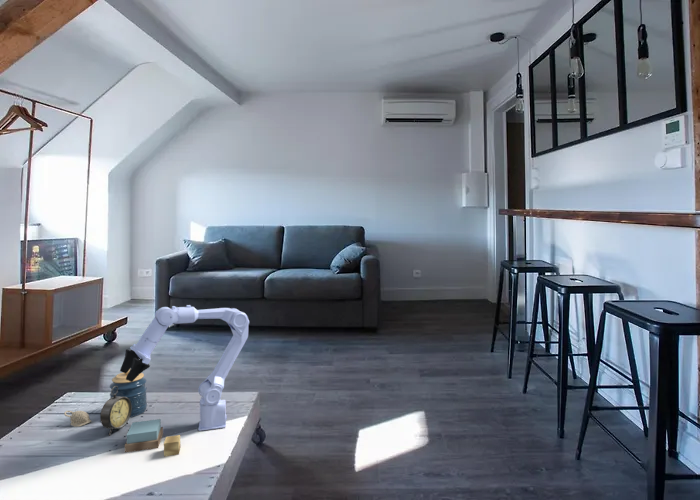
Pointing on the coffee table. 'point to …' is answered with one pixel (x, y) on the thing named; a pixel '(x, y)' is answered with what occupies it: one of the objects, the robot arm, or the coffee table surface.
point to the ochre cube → (172, 445)
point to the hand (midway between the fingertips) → (125, 376)
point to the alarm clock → (116, 412)
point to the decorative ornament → (78, 418)
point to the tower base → (144, 444)
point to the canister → (131, 391)
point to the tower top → (144, 431)
